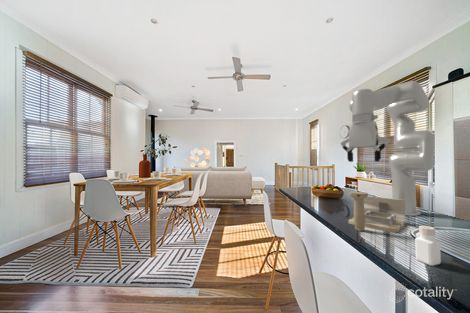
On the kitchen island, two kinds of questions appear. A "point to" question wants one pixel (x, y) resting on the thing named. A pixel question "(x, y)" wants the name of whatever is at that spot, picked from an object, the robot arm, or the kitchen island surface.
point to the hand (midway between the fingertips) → (363, 161)
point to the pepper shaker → (427, 246)
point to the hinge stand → (383, 214)
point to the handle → (359, 209)
